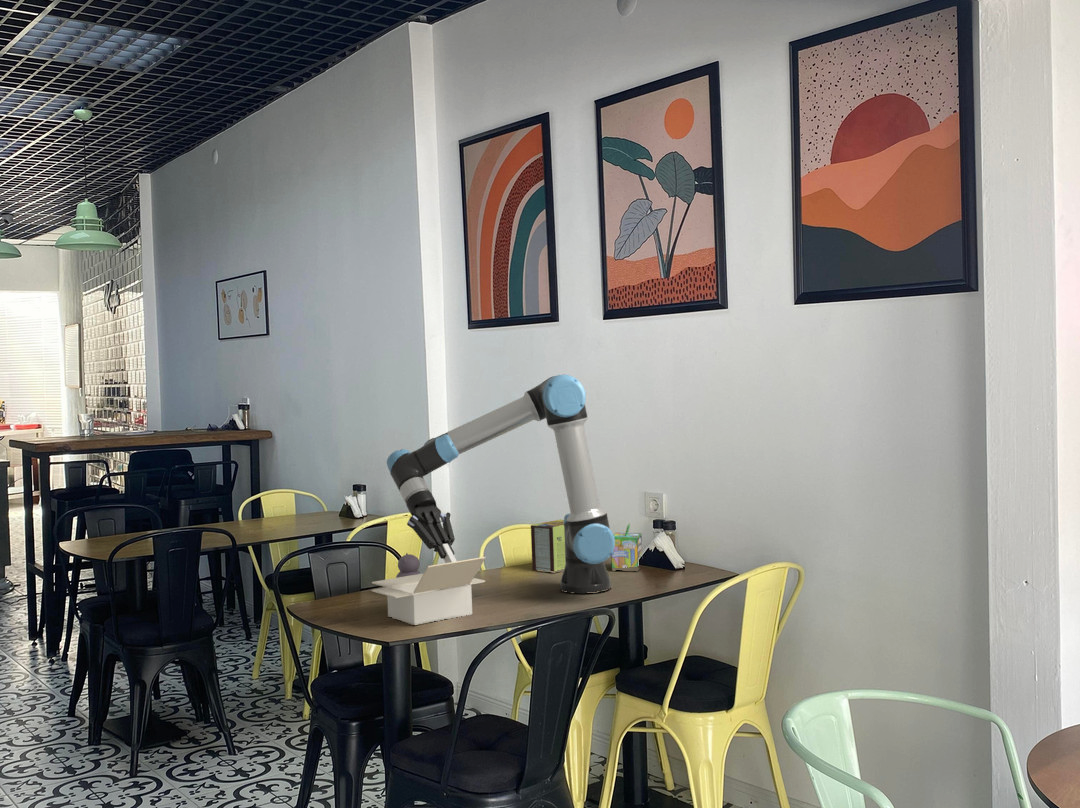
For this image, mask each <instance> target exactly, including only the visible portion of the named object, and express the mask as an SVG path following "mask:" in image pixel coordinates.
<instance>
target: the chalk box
mask: <svg viewBox="0 0 1080 808" xmlns="http://www.w3.org/2000/svg"><path fill="white" fill-rule="evenodd" d="M630 526H631V524H630V523H629V524H628V525H627V526H626V530H625V532H615V533H613V535H614V538H615V547H614V551H613V553H612V554H611V556H610V557H611V569H612V568H625V567H626V568H627V567H628V568H629V567H638V566H639V559H640V557H641V555H642V556H643V544H642V543H643V539H642V538H643V537H642V536H643V534H642V532H629V531H630Z"/></svg>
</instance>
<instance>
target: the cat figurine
mask: <svg viewBox="0 0 1080 808" xmlns="http://www.w3.org/2000/svg"><path fill="white" fill-rule="evenodd" d="M420 565H421V563H420V560H419V558H418V557H417V556H416V555H414V554H409V553H408V552H406V554H405V555H403V556H401V557H400V558H399V560H398V562H397V568H398V570H399V572H398V573H397V574H396V577H395V578H399V577H404V576H410V575H416V574H422V573H421V572H420V571H419V569H420Z"/></svg>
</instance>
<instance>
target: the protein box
mask: <svg viewBox="0 0 1080 808" xmlns="http://www.w3.org/2000/svg"><path fill="white" fill-rule="evenodd" d="M563 523H564V519H556V520H550V521H545V522H539V523H534V524H531V525H530V536H531V538H530V540H531V541H530V542H531V543H530V545H531V564H532V571H533V570H543V571H557V570H561V569H564V568H565V533H564V525H563Z"/></svg>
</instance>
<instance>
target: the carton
mask: <svg viewBox="0 0 1080 808" xmlns="http://www.w3.org/2000/svg"><path fill="white" fill-rule="evenodd" d="M423 574H424V572H423V573H421V574H416V575H410V576H404V577H399V578H396V577H394V578H386V579H383V580H382V579H381V580H377V581H372V582H371V584H373V585H377V586H379V587H380V588H375V589H371V593H372V592H374V593H377V594H379V595H383V596H386V597H387V599H386V600H387V618H388V617H392V618H394V619H398V620H401V621H404V622H407V623H410V624H413V625H418V624H423V623H428V622H433V623H435V622H434V621H438V622H441V621H440V620H443V621H445V620H444V619H448V620H452V619H451V618H453V619H457V618H456V617H458V618H462V617H466V615H467V616H471V615H473V599H472V598H473V595H472V594H473V593H472V585H475V584H482V583H485V582H486V580H485V579H480V578H476V577H474V578H473V580H472V581H471V583H470V584H464V585H459V586H453V587H448V588H442V589H437V590H431V591H426V592H420V593H415V594H414V593H413V592H414V590H415V588H416V587H417V585H418V583H419V581H420V579H421V578H422V576H423ZM461 616H462V617H461ZM394 619H393V620H394ZM428 624H429V623H428Z"/></svg>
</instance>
